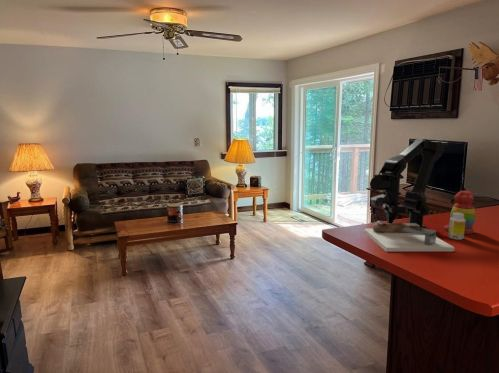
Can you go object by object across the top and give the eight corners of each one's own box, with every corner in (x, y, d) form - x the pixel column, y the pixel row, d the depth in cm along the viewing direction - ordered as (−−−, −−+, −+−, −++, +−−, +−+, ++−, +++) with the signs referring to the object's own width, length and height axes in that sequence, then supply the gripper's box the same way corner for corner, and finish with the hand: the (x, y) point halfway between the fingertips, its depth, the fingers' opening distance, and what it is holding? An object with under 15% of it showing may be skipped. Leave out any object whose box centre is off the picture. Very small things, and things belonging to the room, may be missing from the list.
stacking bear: (460, 226, 166) (464, 188, 163) (480, 233, 156) (485, 192, 153) (441, 228, 163) (445, 189, 160) (460, 235, 153) (465, 193, 150)
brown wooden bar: (375, 232, 150) (376, 226, 149) (371, 228, 155) (371, 222, 154) (420, 232, 150) (420, 226, 150) (414, 228, 155) (415, 222, 155)
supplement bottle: (466, 239, 148) (469, 214, 146) (456, 240, 146) (459, 215, 144) (454, 235, 153) (457, 211, 151) (444, 236, 151) (447, 212, 149)
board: (363, 231, 157) (364, 218, 156) (421, 231, 158) (422, 218, 157) (386, 251, 133) (387, 236, 132) (454, 251, 133) (455, 235, 132)
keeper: (403, 239, 142) (404, 227, 141) (409, 236, 145) (410, 225, 145) (429, 245, 135) (430, 233, 134) (435, 242, 138) (436, 230, 137)
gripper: (366, 185, 165) (364, 219, 168) (381, 193, 147) (379, 230, 150) (390, 185, 166) (388, 219, 168) (409, 193, 147) (406, 230, 150)
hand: (389, 224), depth 159 cm, fingers closed
